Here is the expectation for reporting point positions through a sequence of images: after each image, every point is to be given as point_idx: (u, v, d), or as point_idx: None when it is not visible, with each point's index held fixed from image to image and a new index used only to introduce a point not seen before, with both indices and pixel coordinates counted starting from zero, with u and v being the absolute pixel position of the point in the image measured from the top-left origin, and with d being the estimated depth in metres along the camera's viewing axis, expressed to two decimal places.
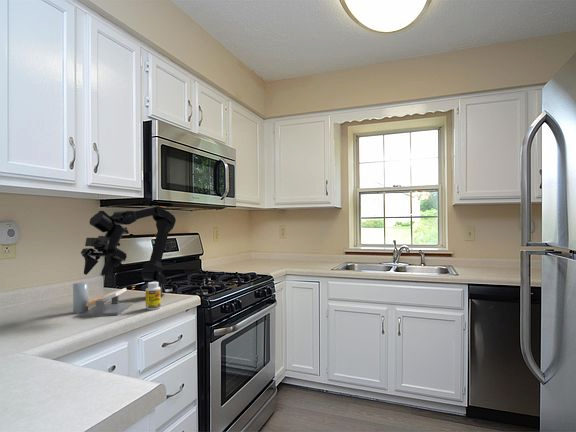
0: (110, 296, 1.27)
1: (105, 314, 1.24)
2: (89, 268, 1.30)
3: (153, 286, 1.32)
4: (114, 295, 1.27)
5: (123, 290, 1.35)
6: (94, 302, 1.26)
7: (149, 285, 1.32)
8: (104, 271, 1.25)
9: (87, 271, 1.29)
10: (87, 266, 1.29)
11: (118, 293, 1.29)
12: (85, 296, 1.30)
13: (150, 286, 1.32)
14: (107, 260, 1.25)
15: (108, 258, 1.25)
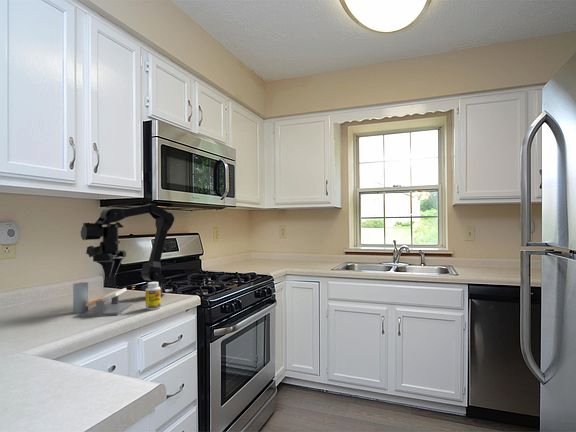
0: (110, 296, 1.27)
1: (105, 314, 1.24)
2: (115, 269, 1.42)
3: (153, 286, 1.32)
4: (114, 295, 1.27)
5: (123, 290, 1.35)
6: (94, 302, 1.26)
7: (149, 285, 1.32)
8: (106, 274, 1.36)
9: (114, 272, 1.42)
10: (112, 268, 1.42)
11: (118, 293, 1.29)
12: (85, 296, 1.30)
13: (150, 286, 1.32)
14: None
15: None
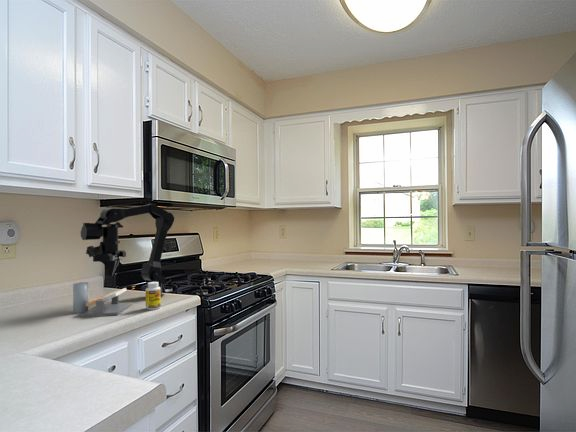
0: (110, 296, 1.27)
1: (105, 314, 1.24)
2: None
3: (153, 286, 1.32)
4: (114, 295, 1.27)
5: (123, 290, 1.35)
6: (94, 302, 1.26)
7: (149, 285, 1.32)
8: (109, 273, 1.39)
9: None
10: None
11: (118, 293, 1.29)
12: (85, 296, 1.30)
13: (150, 286, 1.32)
14: None
15: None
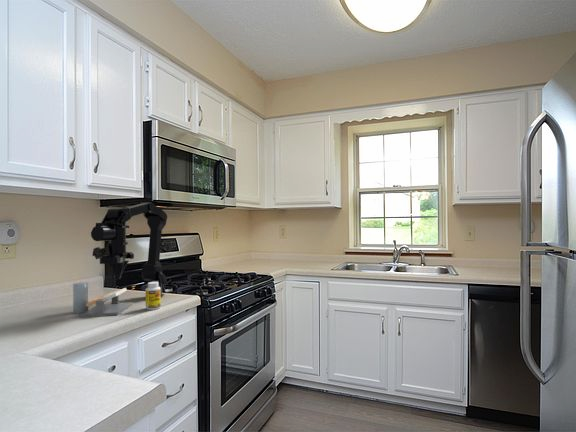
0: (110, 296, 1.27)
1: (105, 314, 1.24)
2: None
3: (153, 286, 1.32)
4: (114, 295, 1.27)
5: (123, 290, 1.35)
6: (94, 302, 1.26)
7: (149, 285, 1.32)
8: (116, 276, 1.32)
9: None
10: None
11: (118, 293, 1.29)
12: (85, 296, 1.30)
13: (150, 286, 1.32)
14: None
15: None
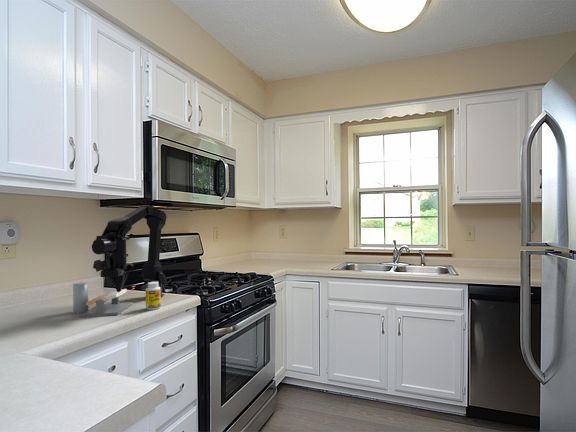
0: (110, 297, 1.27)
1: (105, 314, 1.24)
2: None
3: (153, 286, 1.32)
4: (114, 296, 1.27)
5: (123, 291, 1.35)
6: (94, 301, 1.26)
7: (149, 285, 1.32)
8: (117, 288, 1.31)
9: None
10: None
11: (118, 294, 1.29)
12: (85, 296, 1.30)
13: (150, 286, 1.32)
14: None
15: None
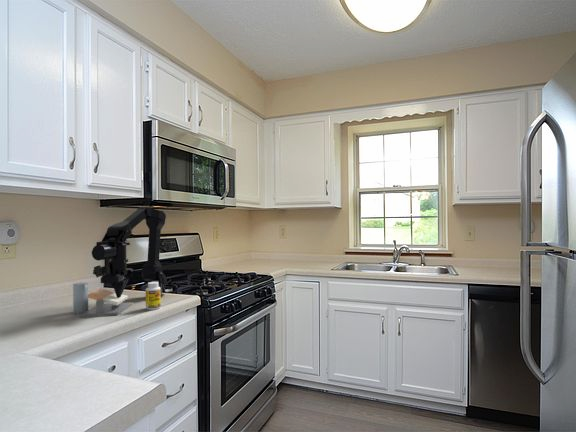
0: (112, 302, 1.27)
1: (105, 314, 1.24)
2: None
3: (153, 286, 1.32)
4: (116, 303, 1.27)
5: (125, 298, 1.35)
6: (95, 298, 1.26)
7: (149, 285, 1.32)
8: (117, 294, 1.31)
9: None
10: None
11: (120, 302, 1.29)
12: (85, 296, 1.30)
13: (150, 286, 1.32)
14: None
15: None
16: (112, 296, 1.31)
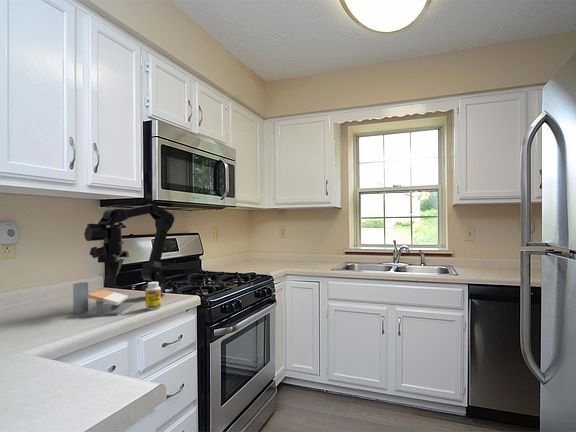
0: (112, 302, 1.27)
1: (105, 314, 1.24)
2: None
3: (153, 286, 1.32)
4: (116, 303, 1.27)
5: (125, 298, 1.35)
6: (95, 298, 1.26)
7: (149, 285, 1.32)
8: (113, 274, 1.38)
9: None
10: None
11: (120, 302, 1.29)
12: (85, 296, 1.30)
13: (150, 286, 1.32)
14: None
15: None
16: (112, 296, 1.31)
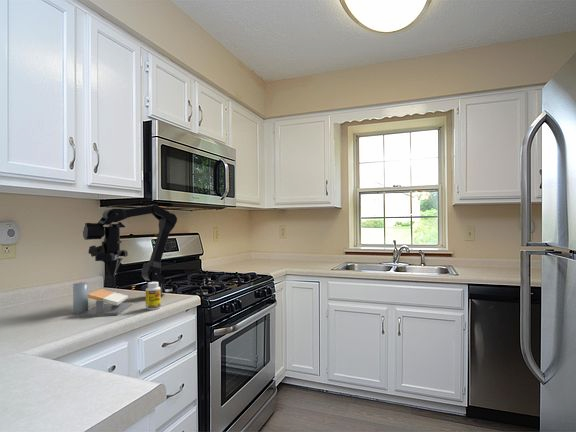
0: (112, 302, 1.27)
1: (105, 314, 1.24)
2: None
3: (153, 286, 1.32)
4: (116, 303, 1.27)
5: (125, 298, 1.35)
6: (95, 298, 1.26)
7: (149, 285, 1.32)
8: (111, 272, 1.41)
9: None
10: None
11: (120, 302, 1.29)
12: (85, 296, 1.30)
13: (150, 286, 1.32)
14: None
15: None
16: (112, 296, 1.31)
